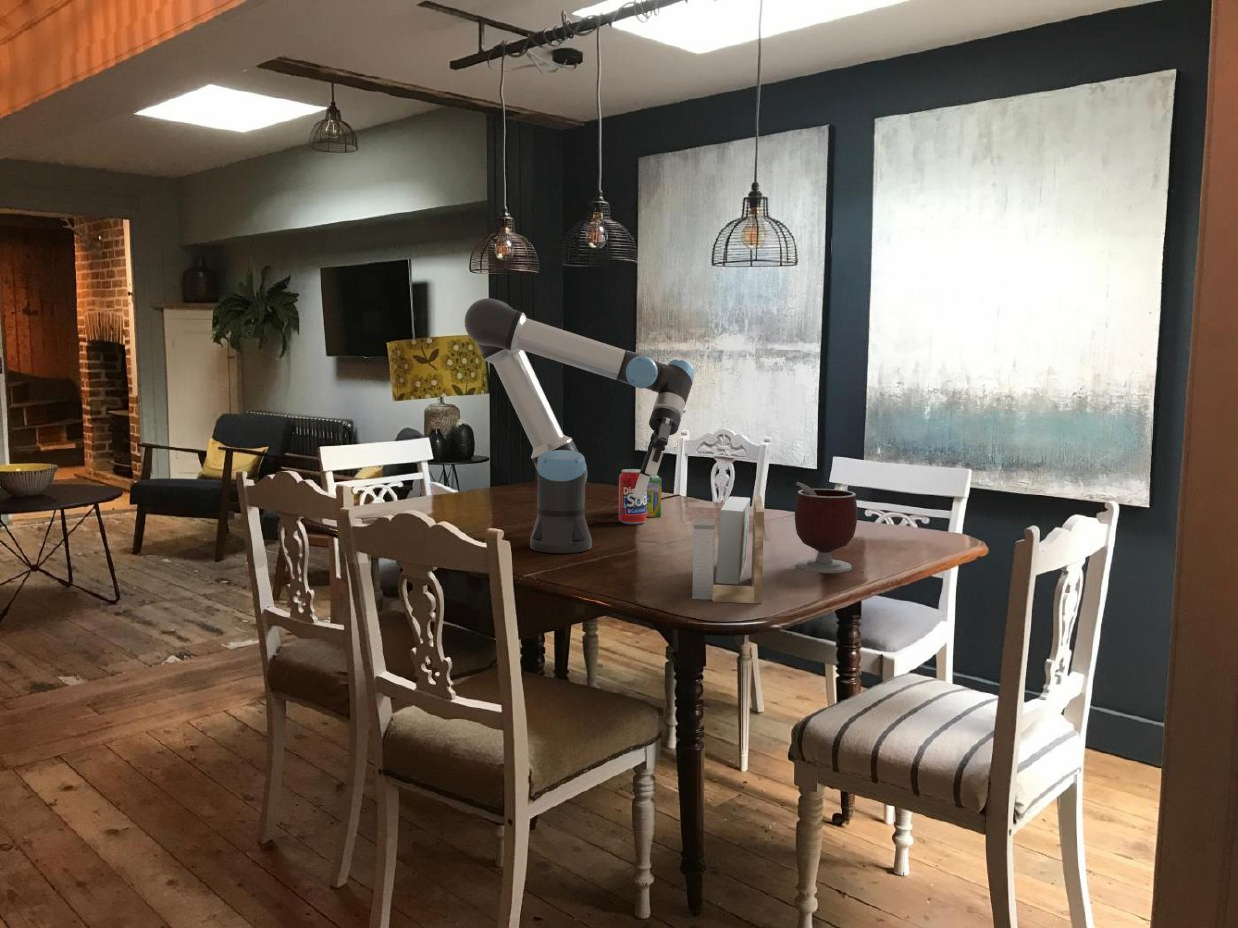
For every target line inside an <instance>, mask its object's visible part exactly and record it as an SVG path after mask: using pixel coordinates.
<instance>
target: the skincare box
mask: <svg viewBox="0 0 1238 928" xmlns="http://www.w3.org/2000/svg"><path fill="white" fill-rule="evenodd" d="M750 510H751V497H745V496H744V497H741V496H729V497H728V498H727V499H726V501H725V502H724V504H723V505H722V507H721V508H720V510H719V522H718V523H719V525H718V539H717V540H718V542H717V543H718V544H717V559H716V569H715V570H716V572H715V584H720V585H735V586H739V584H740V582H741V579H742V577H743V574H744V571H745V569H746V566H747V555H748V543H749V542H748V541H749V528H750V527H749V525H750Z"/></svg>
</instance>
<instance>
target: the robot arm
mask: <svg viewBox="0 0 1238 928" xmlns="http://www.w3.org/2000/svg"><path fill="white" fill-rule="evenodd" d="M464 327H465V331H466V333H467V335H468V336H469V337H470V339H471V340H472V341H474V342H475V343H476V344H477V346H478V349H479V351H480V352H481V355H482V357H483V359H484V361H485V362H488V363H490V364H492V365H493V366H494V368H495V370H496V373H497V375H498V377H499V379H500V381H501V383H502V385H503V387H504V389H505V392H506V394H507V396H508V398H509V401H510V402H511V404H512V406H513V408H514V410H515V413H516V415H517V417H518V419H519V422H520V423H521V426H522V427H523V429H524V432H525V434H526V436H527V439H528V440H529V442H530V444H531V446H532V452H531V453H532V454H531V457H530V458H531V461H532V462H533V465H534V466H535V469H536V471H537V490H536V491H537V493H536V495H537V498H536V499H537V507H536V508H537V512H536V513H537V514H536V516H537V517H536V520H535V523H534V526H533V529H532V531H531V535H530V540H529V548H530V549H531V550H534V551H536V552H541V553H549V554H572V553H573V554H574V553H581V552H582V553H583V552H587V551H589V550H591V549H592V548H593V547H592V546H593V545H592V542H593V539H592V535H591V533H590V529H589V526H588V523H587V520H586V515H585V514H586V511H585V510H586V508H585V507H586V483H587V479H588V475H589V474H588V468H587V467H588V466H587V463H586V458H585V456H584V455H583V454H582V453H581V452H579V450H578V449H577V446H576V444H575V442H574V441H573V438H572V437H570V436H567V435H565V434H564V433H563V431H562V428H561V426H560V424H559V422H558V420H557V418H556V415H555V413H554V411H553V409H552V406H551V405H550V403H549V401H548V399H547V396H546V395H545V392H544V390H543V388H542V386H541V384H540V381H539V379H538V376H537V375H536V373H535V370H534V369H533V366H532V363H531V362H530V360H529V358H528V355H527V354H526V353H527V352H528V353H531V354H534V355H537V356H541V357H543V358H546V359H550V360H552V361H553V360H554V361H556V362H559V363H563V364H565V365H568V366H572V367H574V368H578V369H581V370H584V371H587V372H591V373H593V374H597V375H600V376H604V377H606V378H609V379H611V380H615V381H619V382H621V383H625V384H628V385H631V386H632V387H634V388H637V389H647V390H649V391H652V392H655V393H657V395H656V399H655V402H654V405H653V408H652V412H651V414H650V417H649V420H648V425H649V427H650V428H651V429H650V430H652V431H653V432H652V433H651V435H650V441H649V442H648V443H649V444H648V446H647V451H646V454H645V456H644V460H643V463H642V466H641V468H640V469H639V470H640V473H639V474H638V480H637V483H636V486H635V489H634V493H633V496H632V497H635V498H637V499H640V500H643V498H644V495H645V492H646V489H647V485H648V482H649V479H650V480H651V479H652V477H650V475H652V476H654V477H656V475H658V471H659V468H660V465H661V462H662V458H663V456H664V451H666V446H667V445H668V443H669V438H670V436H673V435H675V434H676V433H677V432H679V428H680V425H681V421H682V418H683V414H686V412H687V410H686V409H685V408H686V405H687V402H688V399H689V395H690V393H691V390H692V387H693V384H694V383H693V381H694V377H695V374H696V373H695V372H696V371H695V368H694V367H693V365H692V364H691V363H689V362H688V361H686V360H683V359H677V358H676V359H672V360H670V361H669V362H668V364H667V363H663V362H659V361H658V360H655V359H652V357H649V356H645V355H642V354H639V353H637V352H633V351H630V350H626V349H623V348H620V347H618V346H617V347H616V346H614V345H610V344H607V343H604V342H602V341H598V340H594V339H592V338H588V337H586V336H582V335H579V334H576V333H573V332H571V331H567V330H563V329H561V328H558V327H555V326H552V325H549V324H546V323H543V322H539V321H536V320H534V319H530V318H527V316H526V314H525V313H524V312H522V311H520V310H516V309H513V308H512V307H511V306H510V305H509V304H508V303H506V302H505V301H502V300H499V299H494V298H490V297H488V298H487V297H486V298H482V299H478V300H477V301H474V302H473V303H472V304H471V305H470V306H469V307H468V309H467V311H466V313H465V315H464Z"/></svg>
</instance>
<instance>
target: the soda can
mask: <svg viewBox="0 0 1238 928" xmlns="http://www.w3.org/2000/svg"><path fill="white" fill-rule="evenodd" d="M640 470H641V469H639V468H638V469H636V468H632V469H631V468H629V469H622V470H621V473H620V474H619V476H618V520H619V522H621V524H625V525H628V526H629V525H635V526H636V525H642V524H643V523H645V522H646V521H647V518H648V517H647V489H646V492H645V495H644V498H643V500H640V499H637V498H635V497H632V496H633V493H634V489H635V486H636V483H637V480H638V474H639V473H640Z"/></svg>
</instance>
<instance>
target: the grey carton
mask: <svg viewBox="0 0 1238 928" xmlns="http://www.w3.org/2000/svg"><path fill="white" fill-rule="evenodd" d="M715 529H716V518H707V517H706V518H705V517H704V518H703V517H701V518H700V517H695V518H694V522H693V541H692V542H693V543H692V544H693V548H692V552H693V553H692V595H691V596H692V597H691V599H693V600H710V601H711V600H712V601H713V585H714V580H715V579H714V577H715V576H714V575H715V574H714V572H715V537H716V536H715V535H716V534H715V533H716V530H715Z"/></svg>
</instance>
